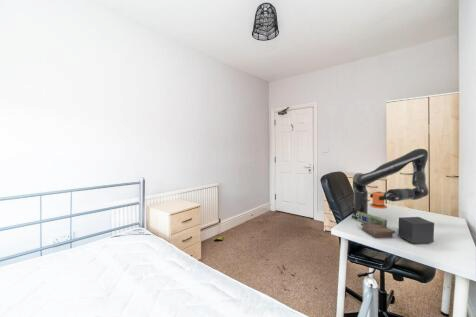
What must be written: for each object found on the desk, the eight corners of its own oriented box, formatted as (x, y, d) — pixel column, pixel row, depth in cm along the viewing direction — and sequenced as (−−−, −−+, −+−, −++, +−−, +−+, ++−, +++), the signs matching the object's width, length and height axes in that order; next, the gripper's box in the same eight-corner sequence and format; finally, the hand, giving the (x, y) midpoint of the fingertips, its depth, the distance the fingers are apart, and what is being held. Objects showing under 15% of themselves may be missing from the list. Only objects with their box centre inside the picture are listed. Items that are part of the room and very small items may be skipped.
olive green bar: (384, 230, 138) (350, 218, 161) (387, 229, 139) (353, 217, 162) (384, 220, 138) (350, 209, 161) (387, 219, 139) (353, 209, 162)
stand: (360, 229, 141) (360, 223, 141) (378, 228, 141) (378, 222, 141) (374, 238, 127) (374, 232, 127) (394, 237, 127) (394, 231, 127)
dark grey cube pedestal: (397, 236, 129) (398, 217, 128) (417, 236, 129) (418, 216, 128) (412, 244, 118) (412, 223, 118) (433, 244, 118) (434, 223, 118)
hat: (366, 204, 138) (366, 192, 137) (380, 204, 138) (380, 191, 137) (375, 209, 129) (376, 195, 128) (390, 208, 129) (390, 195, 128)
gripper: (408, 203, 129) (385, 206, 126) (387, 197, 143) (365, 200, 140) (408, 191, 129) (385, 193, 125) (387, 186, 143) (365, 188, 139)
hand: (375, 197), depth 133 cm, fingers closed on hat, 6 cm apart
